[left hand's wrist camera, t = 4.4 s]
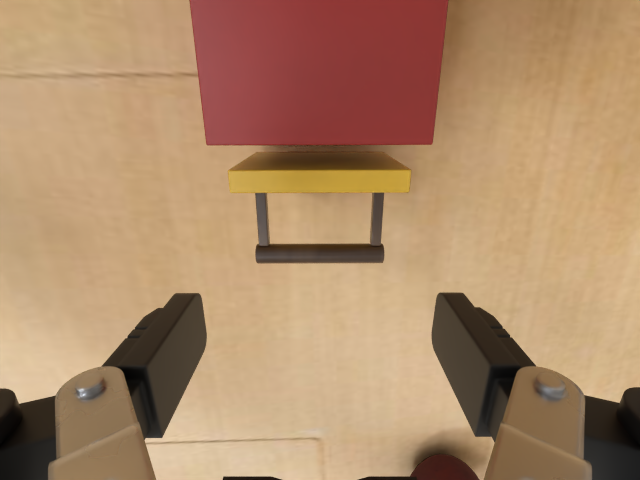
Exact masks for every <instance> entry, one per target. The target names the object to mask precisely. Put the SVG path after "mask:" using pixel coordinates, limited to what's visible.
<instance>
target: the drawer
mask: <svg viewBox="0 0 640 480" xmlns="http://www.w3.org/2000/svg"><path fill="white" fill-rule="evenodd" d="M228 178H229V188H230V192H231V193H255V195H256V209H257V223H258V237H259V244H257V246H256V262H257V263H383V261H384V246H383V244H381V232H382V216H383V201H384V193H401V192H409V191H410V180H411V170H410V169H409V168H407V167H406V166H404V165H402V164H401V163H399V162H398V161H396V160H395V159H393V158H391V157H390V156H388V155H387V154H385V153H384V152H256V153H255V154H253V155H252V156H250V157H248V158H247V159H245V160H244V161H242V162H241V163H239V164H237V165H236V166H234V167H233V168H231V169H230V170H228ZM267 193H372V212H371V231H370V243H371V244H269V243H270V237H269V220H268V204H267Z"/></svg>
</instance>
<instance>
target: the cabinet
mask: <svg viewBox="0 0 640 480" xmlns="http://www.w3.org/2000/svg"><path fill="white" fill-rule="evenodd" d="M190 8H191V17H192V25H193V34H194V42H195V51H196V59H197V68H198V76H199V85H200V93H201V102H202V111H203V119H204V128H205V136H206V144H207V145H431V144H432V143H433V135H434V126H435V117H436V108H437V99H438V90H439V81H440V72H441V63H442V54H443V45H444V35H445V26H446V17H447V8H448V0H190Z"/></svg>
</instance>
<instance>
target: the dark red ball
mask: <svg viewBox="0 0 640 480" xmlns="http://www.w3.org/2000/svg"><path fill="white" fill-rule="evenodd" d="M410 477H417V480H479V478H478V477H477V475H476V474H475V473H474V472H473V471H472V469H471V468H470V467H469V466H468V465H467V464H466V463H464V462H463V461H461V460H460V459H458V458H456V457H453V456H450V455H446V454H437V455H434V456H431V457H428V458H427V459H425V460H424V461H423V462H422V463H420V464H419V465H418V466H417V467H416V468H415V470H414V471H413V472H412V474H411V476H410Z"/></svg>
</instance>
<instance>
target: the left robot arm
mask: <svg viewBox="0 0 640 480" xmlns="http://www.w3.org/2000/svg"><path fill="white" fill-rule="evenodd" d="M206 339H207V333H206V325H205V318H204V311H203V304H202V298H201V295H200V294H199V293H176V294H174V295H173V296H172V298H171V299H170V300H169V301H168V303H167V304H166V305H165V306H164V308H157V309H156V310H154V311H153V312H151V313H150V314H148V315H146V316H145V317H144V318H143V319H142V320H141V321H140V322H139V324H138V325H137V326H136V327H135V330H133V331H132V332H131V333H130V334H129V335H128V338H126V339H125V340H124V341H123V342H122V343H121V344H120V346H119V347H118V348H117V349H116V350H115V351H114V353H113V354H112V355H111V356H110V357H109V358H108V360H107V361H106V362H105V363H104V364H103V365H102V367H98V368H93V369H90V370H87V371H85V372H83V373H81V374H79V375H77V376H75V377H73V378H72V379H70V380H69V381H68V382H66V383H65V384H64V385H63V386H62V387H61V388H60V389H59V391H58V392H57V394H56V396H52V397H48V398H44V399H39V400H35V401H30V402H26V403H21V404H19V403H18V401H17V398H16V396H15V393H14V392H13V391H11V390H9V389H0V480H156V478H155V474H154V471H153V468H152V464H151V461H150V457H149V454H148V451H147V447H146V444H145V441H144V440H145V438H162V437H163V435H164V433H165V431H166V429H167V427H168V425H169V423H170V420H171V418H172V416H173V414H174V412H175V410H176V408H177V406H178V404H179V402H180V400H181V398H182V396H183V394H184V392H185V390H186V387H187V385H188V383H189V381H190V379H191V377H192V375H193V373H194V371H195V369H196V367H197V365H198V363H199V361H200V359H201V357H202V355H203V352H204V350H205V346H206ZM432 344H433V348H434V351H435V353H436V355H437V358H438V360H439V362H440V364H441V366H442V368H443V370H444V372H445V374H446V376H447V378H448V380H449V383H450V385H451V387H452V389H453V391H454V393H455V395H456V397H457V399H458V401H459V403H460V405H461V408H462V410H463V412H464V414H465V416H466V418H467V420H468V422H469V424H470V426H471V428H472V431H473V433H474V435H475V437H492V438H493V440H494V442H495V444H494V447H493V451H492V454H491V457H490V461H489V464H488V468H487V471H486V474H485V478H484V480H640V387H634V388H629V389H627V390H626V391H625V392H624V394H623V396H622V399H621V401H620V403H617V402H612V401H608V400H603V399H599V398H594V397H590V396H585V395H584V394H583V392H582V391H581V389H580V388H579V387H578V386H577V385H576V384H575V383H574V382H572V381H571V380H570V379H568V378H567V377H565V376H563V375H561V374H559V373H557V372H555V371H553V370H550V369H547V368H542V367H536V365H535V364H534V363H533V362H532V361H531V359H530V358H529V357H528V356H527V355H526V354H525V352H524V351H523V350H522V349H521V348H520V347H519V345H518V344H517V343H516V342H515V341H514V340H513V338H510V335H509V334H508V333H507V331H506V330H505V329H503V327H502V325H501V324H500V323H499V322H498V321H497V320H496V318H495V317H494V316H492V315H491V314H489V313H488V312H486V311H485V310H483V309H481V308H480V307H474V306H473V305H472V303H471V302H470V301H469V300H468V298H467V297H466V296H465V295H464V294H463V293H439V294H438V295H437V298H436V305H435V312H434V320H433V327H432ZM223 480H281V479H278V478H274V477H223ZM359 480H417V477H366V478H362V479H359Z"/></svg>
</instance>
